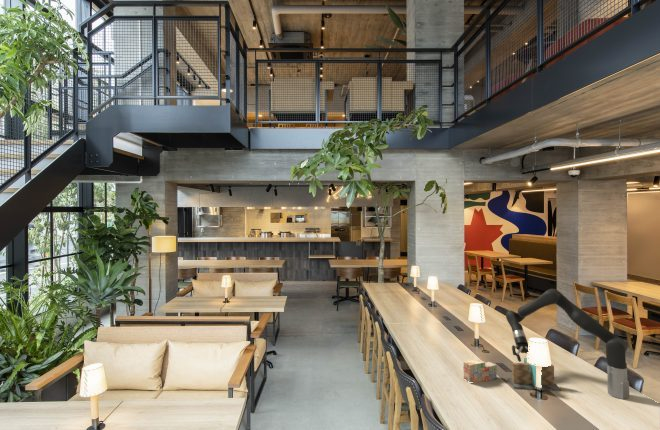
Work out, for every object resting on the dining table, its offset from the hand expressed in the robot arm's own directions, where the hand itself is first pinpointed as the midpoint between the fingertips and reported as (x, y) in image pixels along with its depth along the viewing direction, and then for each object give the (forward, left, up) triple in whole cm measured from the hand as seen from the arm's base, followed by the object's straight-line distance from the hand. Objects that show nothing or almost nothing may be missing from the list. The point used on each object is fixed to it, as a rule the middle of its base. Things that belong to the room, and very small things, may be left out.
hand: (527, 361), depth 239 cm
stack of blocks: (+12, +28, -12) cm, 33 cm away
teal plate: (-7, +4, -10) cm, 13 cm away
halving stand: (-8, +4, -12) cm, 14 cm away
